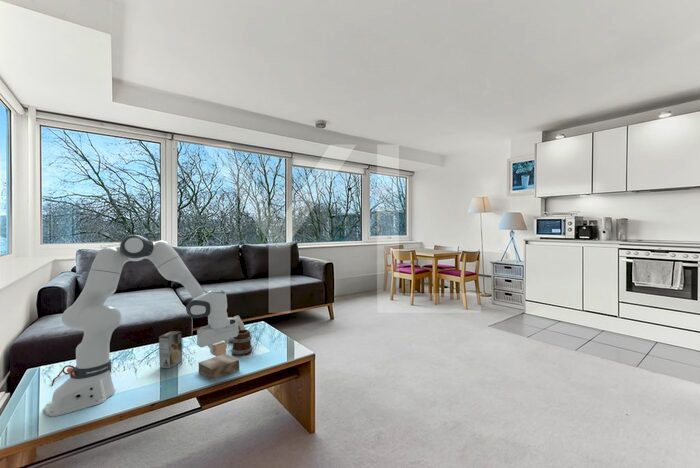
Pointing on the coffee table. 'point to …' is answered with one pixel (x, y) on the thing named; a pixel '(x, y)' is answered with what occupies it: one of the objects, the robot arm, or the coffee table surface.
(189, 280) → the robot arm
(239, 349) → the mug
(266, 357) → the coffee table surface
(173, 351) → the coffee box
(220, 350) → the cube
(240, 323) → the sculpture
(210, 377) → the block
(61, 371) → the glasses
